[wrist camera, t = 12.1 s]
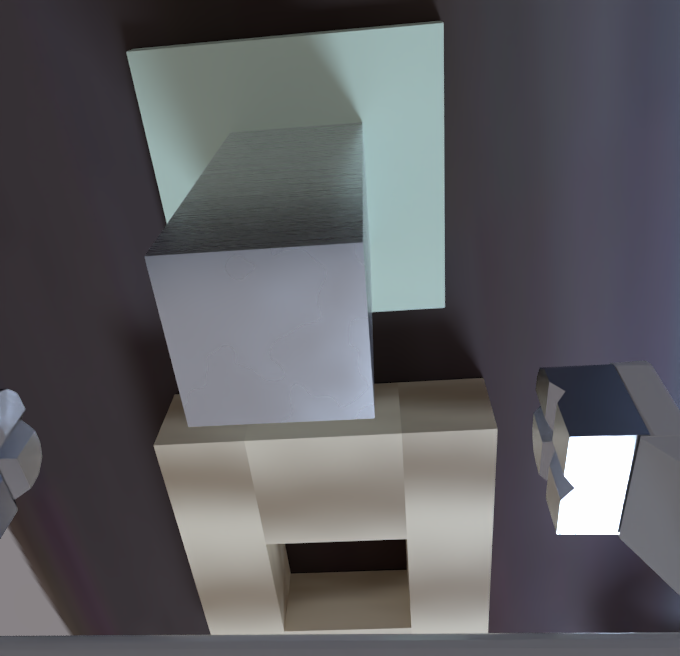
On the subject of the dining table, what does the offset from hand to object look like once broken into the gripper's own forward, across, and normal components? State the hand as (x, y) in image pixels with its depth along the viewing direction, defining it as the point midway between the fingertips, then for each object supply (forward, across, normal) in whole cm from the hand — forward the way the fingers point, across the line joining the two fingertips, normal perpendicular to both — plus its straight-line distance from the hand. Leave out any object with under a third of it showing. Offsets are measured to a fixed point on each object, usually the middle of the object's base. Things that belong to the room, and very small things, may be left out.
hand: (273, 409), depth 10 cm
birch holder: (+12, +1, +17) cm, 21 cm away
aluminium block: (+12, +1, +1) cm, 12 cm away
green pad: (+12, +1, +1) cm, 12 cm away
